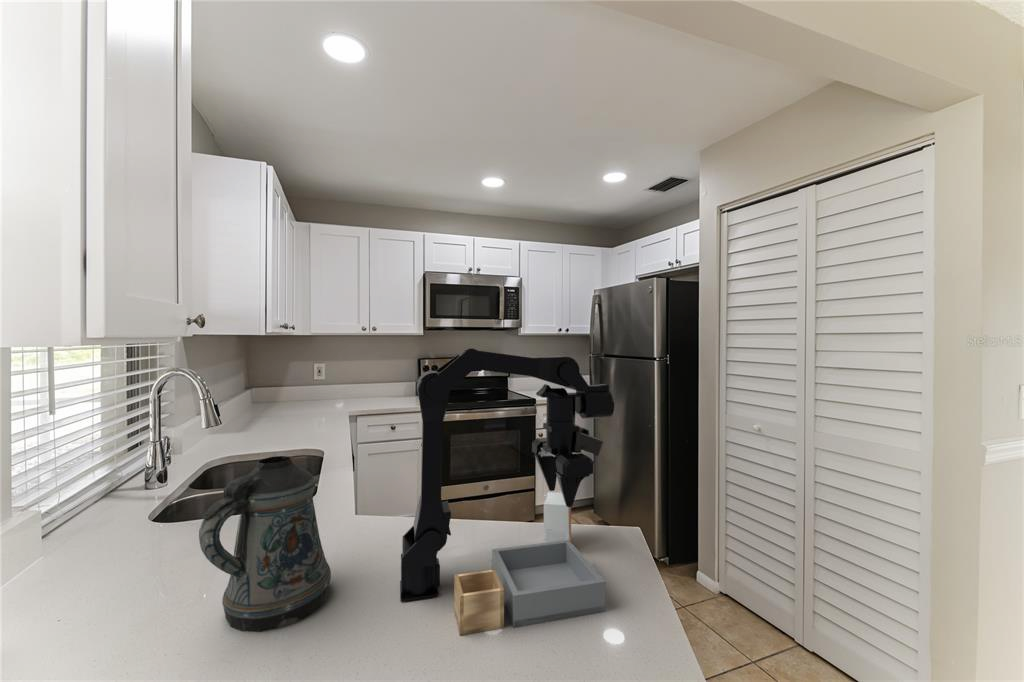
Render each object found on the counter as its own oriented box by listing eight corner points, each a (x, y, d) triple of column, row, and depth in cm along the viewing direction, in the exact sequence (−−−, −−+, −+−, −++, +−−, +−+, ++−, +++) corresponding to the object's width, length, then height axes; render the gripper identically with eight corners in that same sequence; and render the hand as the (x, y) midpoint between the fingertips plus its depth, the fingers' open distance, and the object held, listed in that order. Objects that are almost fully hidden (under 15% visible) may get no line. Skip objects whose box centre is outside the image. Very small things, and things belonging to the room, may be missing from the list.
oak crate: (459, 635, 66) (459, 596, 66) (454, 610, 73) (454, 575, 73) (503, 627, 68) (503, 589, 68) (494, 604, 74) (495, 569, 74)
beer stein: (345, 577, 83) (346, 447, 83) (291, 648, 63) (292, 478, 64) (261, 576, 83) (261, 446, 84) (181, 646, 64) (182, 477, 64)
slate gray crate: (513, 627, 68) (513, 595, 68) (491, 575, 84) (491, 549, 84) (605, 611, 72) (605, 581, 72) (568, 564, 88) (568, 539, 88)
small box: (569, 555, 92) (569, 505, 92) (543, 552, 93) (543, 503, 93) (571, 538, 100) (571, 493, 100) (547, 536, 101) (547, 491, 101)
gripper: (621, 426, 79) (620, 512, 79) (578, 411, 97) (578, 480, 97) (564, 428, 76) (563, 518, 76) (531, 412, 94) (530, 484, 94)
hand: (560, 498), depth 85 cm, fingers open, 9 cm apart
